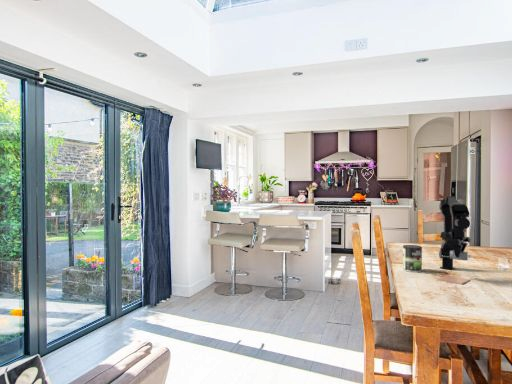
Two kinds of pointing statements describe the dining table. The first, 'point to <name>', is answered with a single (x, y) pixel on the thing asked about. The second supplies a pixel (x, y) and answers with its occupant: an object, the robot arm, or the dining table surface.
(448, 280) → the plate
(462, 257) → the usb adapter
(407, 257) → the coffee can
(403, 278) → the dining table surface
